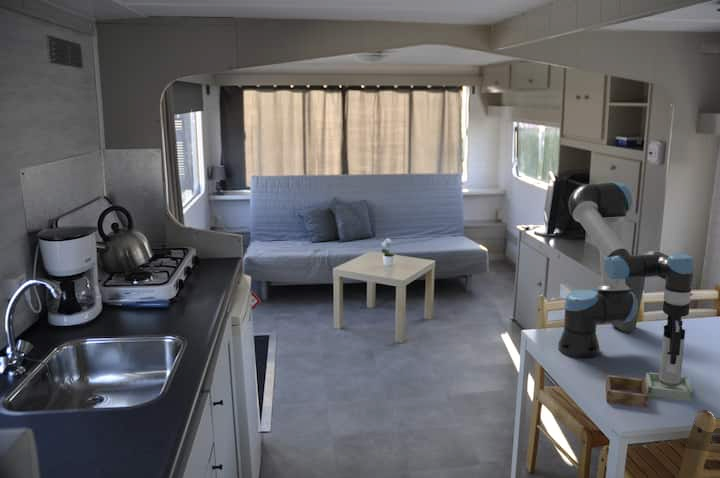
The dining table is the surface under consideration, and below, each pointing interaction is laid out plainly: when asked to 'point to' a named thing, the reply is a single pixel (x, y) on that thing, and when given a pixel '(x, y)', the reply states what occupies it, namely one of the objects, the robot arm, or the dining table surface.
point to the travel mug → (665, 376)
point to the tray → (668, 388)
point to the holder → (626, 397)
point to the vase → (637, 289)
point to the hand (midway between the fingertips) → (670, 367)
